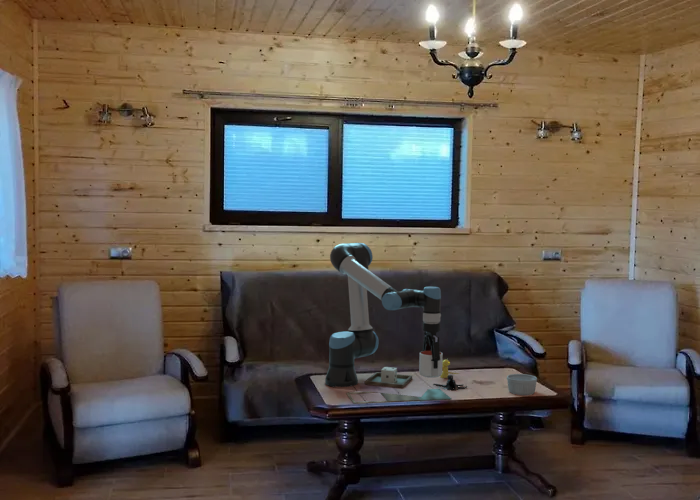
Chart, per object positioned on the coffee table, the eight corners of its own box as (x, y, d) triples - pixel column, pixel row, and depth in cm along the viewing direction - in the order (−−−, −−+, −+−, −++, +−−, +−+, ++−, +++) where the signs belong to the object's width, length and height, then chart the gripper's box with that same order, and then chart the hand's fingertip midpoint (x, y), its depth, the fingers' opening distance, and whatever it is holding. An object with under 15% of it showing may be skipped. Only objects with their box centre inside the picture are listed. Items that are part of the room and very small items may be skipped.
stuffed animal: (469, 388, 322) (448, 373, 320) (456, 406, 322) (435, 391, 321) (463, 381, 333) (443, 367, 332) (451, 398, 334) (431, 384, 333)
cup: (418, 377, 309) (418, 354, 308) (420, 372, 318) (420, 350, 318) (441, 378, 307) (442, 355, 306) (442, 373, 317) (443, 351, 316)
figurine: (459, 381, 337) (460, 363, 336) (434, 379, 341) (435, 361, 341) (464, 376, 348) (465, 358, 348) (440, 373, 352) (440, 356, 352)
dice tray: (364, 385, 328) (364, 381, 328) (375, 376, 345) (376, 372, 345) (402, 389, 322) (402, 384, 322) (412, 379, 339) (412, 375, 339)
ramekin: (500, 390, 324) (500, 374, 323) (524, 387, 329) (524, 372, 329) (518, 397, 312) (518, 381, 311) (542, 394, 317) (543, 379, 316)
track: (353, 403, 298) (353, 402, 298) (346, 393, 314) (346, 392, 314) (451, 399, 307) (451, 398, 307) (439, 389, 323) (439, 388, 323)
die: (380, 382, 332) (381, 369, 331) (384, 379, 338) (384, 366, 337) (393, 383, 330) (393, 370, 329) (396, 380, 336) (397, 367, 335)
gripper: (448, 326, 301) (447, 378, 302) (431, 317, 323) (431, 366, 324) (431, 327, 299) (430, 379, 301) (415, 318, 321) (415, 367, 323)
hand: (430, 372), depth 313 cm, fingers closed on cup, 10 cm apart
